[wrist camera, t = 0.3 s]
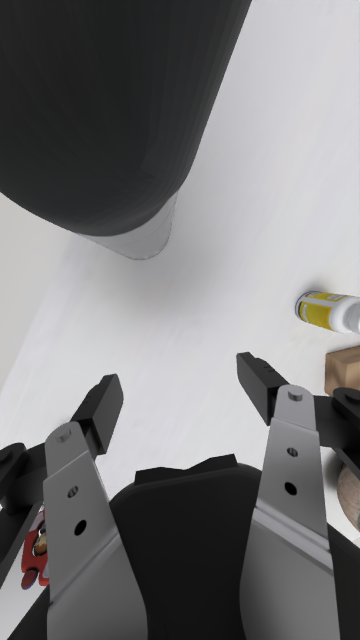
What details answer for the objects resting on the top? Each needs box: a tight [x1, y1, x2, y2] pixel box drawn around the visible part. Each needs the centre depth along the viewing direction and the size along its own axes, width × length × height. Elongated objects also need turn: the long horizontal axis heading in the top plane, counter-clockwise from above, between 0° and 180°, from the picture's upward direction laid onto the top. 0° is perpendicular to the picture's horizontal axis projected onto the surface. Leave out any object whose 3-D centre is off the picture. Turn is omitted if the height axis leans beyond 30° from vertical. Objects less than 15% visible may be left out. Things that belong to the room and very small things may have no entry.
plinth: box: [325, 346, 360, 397], centre depth 33 cm, size 9×9×4 cm
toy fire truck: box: [21, 509, 49, 590], centre depth 33 cm, size 7×12×10 cm, turn 81°
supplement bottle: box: [296, 292, 360, 334], centre depth 26 cm, size 5×5×10 cm
